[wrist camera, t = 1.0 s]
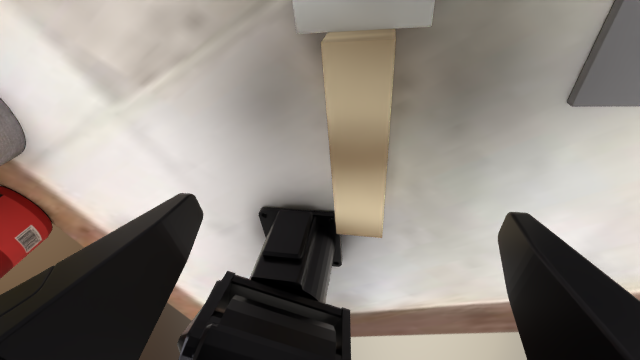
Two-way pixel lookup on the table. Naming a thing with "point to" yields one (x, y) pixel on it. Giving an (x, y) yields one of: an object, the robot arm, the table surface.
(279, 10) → the table surface
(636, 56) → the mat
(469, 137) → the table surface
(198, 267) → the table surface
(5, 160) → the pillar candle
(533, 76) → the table surface
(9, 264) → the canned food
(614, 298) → the robot arm
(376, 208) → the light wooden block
